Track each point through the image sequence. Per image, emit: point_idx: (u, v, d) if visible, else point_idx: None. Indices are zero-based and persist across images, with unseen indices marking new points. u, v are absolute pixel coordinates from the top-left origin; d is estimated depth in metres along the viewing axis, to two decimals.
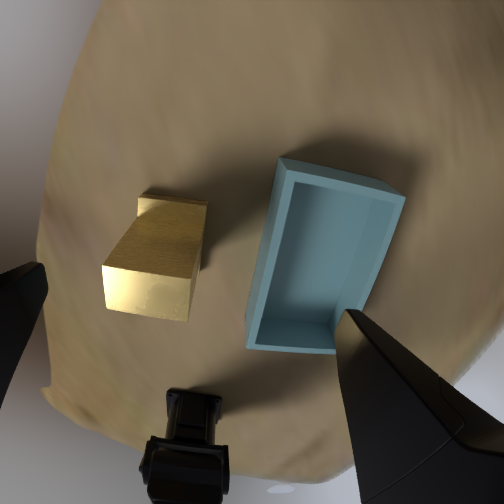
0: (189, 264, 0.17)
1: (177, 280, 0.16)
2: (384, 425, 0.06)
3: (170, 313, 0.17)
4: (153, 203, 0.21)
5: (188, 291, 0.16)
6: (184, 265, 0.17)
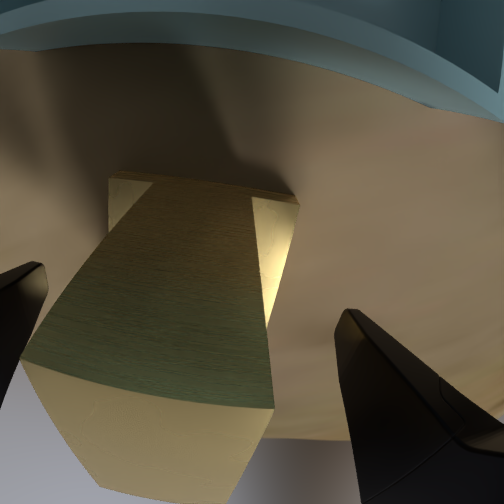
0: None
1: (47, 396, 0.03)
2: (384, 425, 0.06)
3: (218, 446, 0.03)
4: None
5: (75, 380, 0.03)
6: None
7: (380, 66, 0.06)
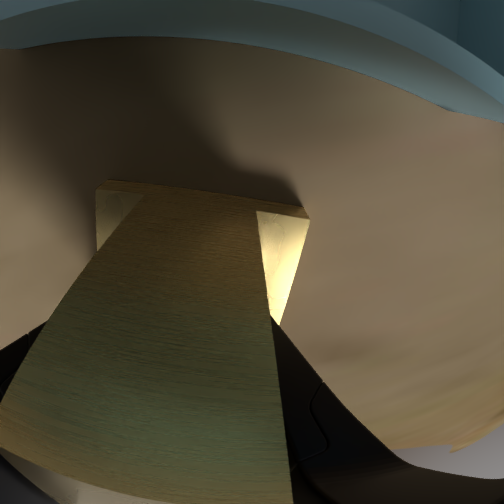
0: None
1: (24, 471, 0.02)
2: None
3: None
4: None
5: (49, 471, 0.02)
6: None
7: (406, 63, 0.05)
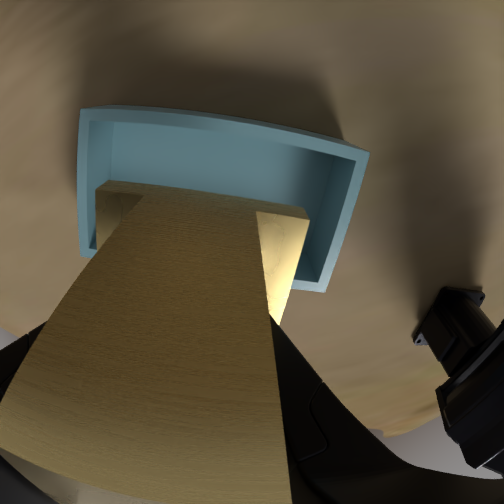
0: None
1: (23, 471, 0.02)
2: None
3: None
4: None
5: (49, 471, 0.02)
6: None
7: None
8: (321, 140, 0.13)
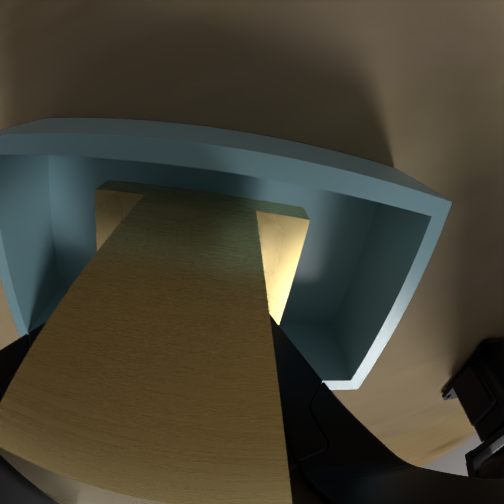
0: None
1: (23, 471, 0.02)
2: None
3: None
4: None
5: (49, 471, 0.02)
6: None
7: None
8: (382, 182, 0.07)
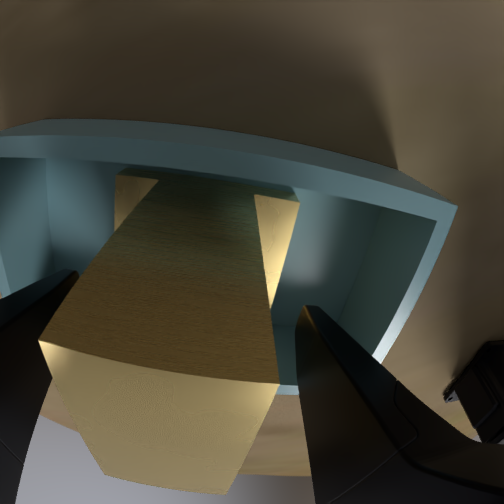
0: None
1: (62, 378, 0.03)
2: (334, 430, 0.05)
3: (226, 423, 0.04)
4: None
5: (93, 359, 0.03)
6: None
7: None
8: (388, 186, 0.07)
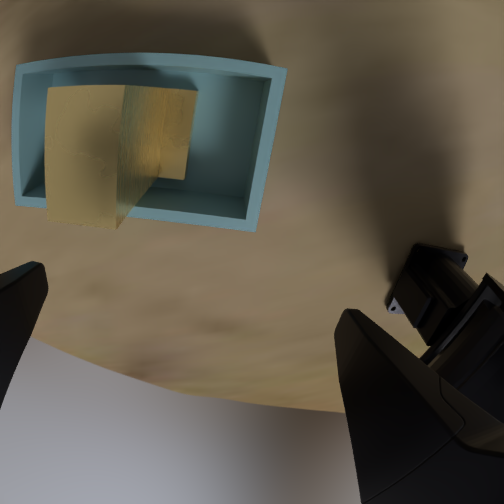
0: None
1: (50, 107, 0.08)
2: (384, 425, 0.06)
3: (107, 115, 0.08)
4: None
5: (66, 88, 0.08)
6: None
7: None
8: (230, 60, 0.11)
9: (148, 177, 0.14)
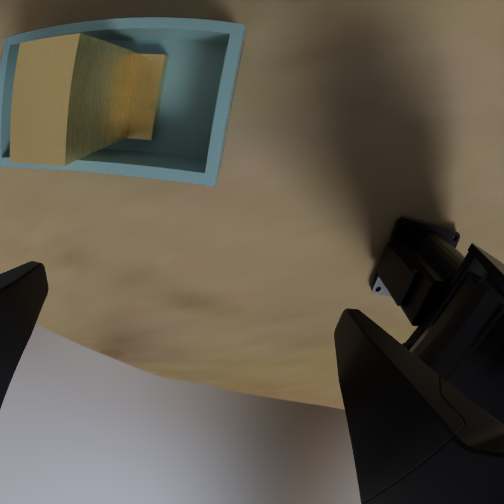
0: None
1: (19, 59, 0.07)
2: (384, 425, 0.06)
3: (63, 60, 0.07)
4: None
5: (33, 41, 0.07)
6: None
7: None
8: (190, 19, 0.11)
9: (112, 132, 0.13)
